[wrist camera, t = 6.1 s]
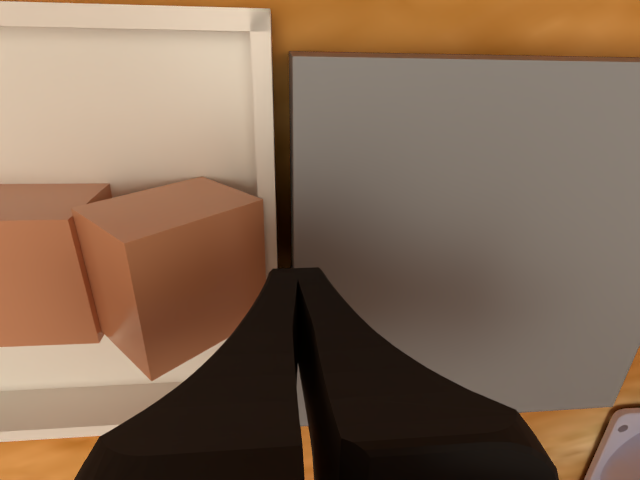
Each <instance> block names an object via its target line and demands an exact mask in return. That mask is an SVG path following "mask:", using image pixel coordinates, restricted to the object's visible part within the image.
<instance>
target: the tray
mask: <svg viewBox="0 0 640 480" xmlns="http://www.w3.org/2000/svg"><path fill="white" fill-rule="evenodd" d="M197 177H205V178H208V179H210V180H213V181H216V182H218V183H221V184H224V185H226V186H229V187H232V188H234V189H237V190H240V191H242V192H245V193H248V194H250V195H253V196H256V197H258V198H261V199H263V213H264V239H265V266H266V279H267V277H268V274H269V272H270V271H271V270H272V269H278V243H277V206H276V170H275V133H274V96H273V59H272V23H271V10H270V9H267V8H230V7H193V6H157V5H120V4H83V3H47V2H10V1H0V184H88V183H109V184H110V189H111V194H112V198H114V197H118V196H122V195H127V194H131V193H135V192H139V191H143V190H147V189H152V188H156V187H160V186H164V185H168V184H172V183H177V182H181V181H185V180H189V179H193V178H197ZM227 339H228V338H227ZM227 339H225V340H223V341H222V342H220V343H218V344H216V345H215V346H213V347H211V348H209V349H208V350H206V351H204V352H202V353H201V354H199V355H197V356H195V357H194V358H192V359H190V360H188V361H186V362H185V363H183V364H181V365H179V366H178V367H176V368H174V369H172V370H171V371H169V372H167V373H165V374H164V375H162V376H160V377H158V378H157V379H155V380H153V381H151V380H150V379H149V378H148V377H147V376H146V375H145V374H144V373H143V372H142V371H141V370H140V369H139V368H138V367H137V366H136V365H135V364H134V363H133V362H132V361H131V360H130V359H129V358H128V357H127V356H126V355H125V354H124V353H123V352H122V351H121V350H120V349H119V348H118V347H117V346H116V345H115V344H114V343H113V342H112V341H111V340H110V339H109V338H108V337H107V336H106V335H105V334H104V336H103V338H102V339H101V341H100V343H93V344H67V345H41V346H16V347H0V442H7V441H23V440H39V439H55V438H71V437H87V436H102V435H103V434H105V433H107V432H109V431H110V430H112V429H114V428H115V427H117V426H119V425H120V424H122V423H123V422H125V421H127V420H128V419H130V418H132V417H133V416H135V415H137V414H138V413H140V412H141V411H143V410H145V409H146V408H148V407H149V406H151V405H152V404H154V403H155V402H157V401H158V400H159V399H161V398H162V397H164V396H165V395H166V394H168V393H169V392H171V391H172V390H173V389H175V388H176V387H177V386H178V385H180V384H181V383H182V382H184V381H185V380H186V379H187V378H188V377H190V376H191V375H192V374H193V373H194V372H195V371H196V370H197V369H198V368H200V367H201V366H202V365H203V364H204V363H205V362H206V361H207V360H208V359H209V358H210V357H211V356H212V355H213V354H214V353H215V352H216V351H217V350H218V349H219V348H220V347H221V346H222V344H223V343H224V342H225V341H226V340H227Z"/></svg>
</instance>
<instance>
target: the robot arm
mask: <svg viewBox="0 0 640 480" xmlns="http://www.w3.org/2000/svg"><path fill="white" fill-rule="evenodd" d="M298 366H299V372H300V379H301V385H302V391H303V397H304V403H305V408H306V414H307V420H308V426H309V432H310V439H311V447H312V455H313V469H314V480H559V478H558V473H557V468H556V467H555V465H554V464H553V462H552V461H551V459H550V458H549V456H548V454H547V453H546V451H545V450H544V448H543V446H542V445H541V443H540V442H539V440H538V439H537V437H536V436H535V434H534V433H533V431H532V430H531V429H530V427H529V426H528V425H527V423H526V422H525V421H524V420H523V418H522V417H521V416H520V414H519V413H518V412H517V410H516V409H513V408H511V407H509V406H506V405H504V404H501V403H499V402H497V401H494V400H492V399H490V398H487V397H485V396H483V395H480V394H478V393H476V392H473V391H471V390H469V389H467V388H464V387H463V386H461V385H459V384H457V383H455V382H453V381H451V380H449V379H447V378H445V377H443V376H441V375H439V374H438V373H436V372H434V371H432V370H431V369H429V368H427V367H425V366H424V365H422V364H421V363H419V362H417V361H416V360H414V359H413V358H411V357H410V356H408V355H406V354H405V353H404V352H402V351H401V350H399V349H398V348H396V347H395V346H394V345H392V344H391V343H390V342H388V341H387V340H386V339H385V338H383V337H382V336H381V335H380V334H378V333H377V332H376V331H375V330H374V329H372V328H371V327H370V326H369V325H368V324H367V323H366V322H365V321H364V320H363V319H362V318H361V317H360V316H359V315H358V314H357V313H356V312H355V311H354V310H353V309H352V308H351V306H350V305H349V304H348V303H347V302H346V301H345V300H344V299H343V297H342V296H341V295H340V294H339V293H338V291H337V290H336V289H335V288H334V286H333V285H332V284H331V282H330V281H329V280H328V278H327V277H326V275H325V274H324V273H323V271H322V270H321V269H320V268H319V267H313V268H278V269H272V270H271V271H270V272H269V274H268V277H267V279H266V282H265V284H264V286H263V288H262V290H261V292H260V293H259V295H258V297H257V298H256V300H255V302H254V303H253V305H252V307H251V308H250V310H249V311H248V313H247V314H246V315H245V317H244V318H243V320H242V321H241V322H240V324H239V325H238V326H237V328H236V329H235V330H234V332H233V333H232V334H231V335H230V336H229V338H228V339H227V340H226V341H225V342H224V343H223V344H222V346H221V347H220V348H219V349H218V350H217V351H216V352H215V353H214V354H213V355H212V356H211V357H210V358H209V359H208V360H207V361H206V362H205V363H204V364H203V365H202V366H201V367H200V368H198V369H197V370H196V371H195V372H194V373H193V374H192V375H191V376H190V377H188V378H187V379H186V380H185V381H184V382H182V383H181V384H180V385H178V386H177V387H176V388H175V389H173V390H172V391H171V392H169V393H168V394H166V395H165V396H164V397H162V398H161V399H159V400H158V401H157V402H155V403H154V404H152V405H151V406H149V407H148V408H146V409H145V410H143V411H141V412H140V413H138V414H137V415H135V416H133V417H132V418H130V419H128V420H127V421H125V422H123V423H122V424H120V425H119V426H117V427H115V428H114V429H112V430H110V431H109V432H107V433H105V434H103V435H102V436H100V437H99V439H98V440H97V442H96V444H95V445H94V447H93V449H92V450H91V452H90V454H89V456H88V457H87V459H86V460H85V462H84V463H83V465H82V467H81V469H80V470H79V472H78V474H77V476H76V477H75V479H74V480H304V464H303V448H302V438H301V429H300V419H299V409H298V398H297V371H298ZM584 480H640V408H624V409H620V410H617V411H616V412H615V413H614V414H613V415H612V417H611V420H610V422H609V424H608V426H607V429H606V431H605V433H604V435H603V438H602V440H601V442H600V444H599V447H598V449H597V451H596V453H595V456H594V458H593V460H592V462H591V465H590V467H589V469H588V471H587V474H586V476H585V478H584Z"/></svg>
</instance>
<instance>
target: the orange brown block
mask: <svg viewBox="0 0 640 480" xmlns="http://www.w3.org/2000/svg"><path fill="white" fill-rule="evenodd" d="M71 211H72V215H73V219H74V223H75V227H76V231H77V235H78V239H79V243H80V247H81V251H82V255H83V259H84V263H85V267H86V271H87V275H88V279H89V283H90V287H91V291H92V295H93V299H94V303H95V307H96V311H97V315H98V319H99V323H100V327H101V331H102V332H103V333H104V334H105V335H106V336H107V337H108V338H109V339H110V340H111V341H112V342H113V343H114V344H115V345H116V346H117V347H118V348H119V349H120V350H121V351H122V352H123V353H124V354H125V355H126V356H127V357H128V358H129V359H130V360H131V361H132V362H133V363H134V364H135V365H136V366H137V367H138V368H139V369H140V370H141V371H142V372H143V373H144V374H145V375H146V376H147V377H148V378H149V379H150V380H151V381H153V380H155V379H157V378H158V377H160V376H162V375H164V374H165V373H167V372H169V371H171V370H172V369H174V368H176V367H178V366H179V365H181V364H183V363H185V362H186V361H188V360H190V359H192V358H194V357H195V356H197V355H199V354H201V353H202V352H204V351H206V350H208V349H209V348H211V347H213V346H215V345H216V344H218V343H220V342H222V341H223V340H225V339H227V338H229V336H230V335H231V334H232V333H233V332H234V330H235V329H236V328H237V326H238V325H239V324H240V322H241V321H242V320H243V318H244V317H245V315H246V314H247V313H248V311H249V310H250V308H251V307H252V305H253V303H254V302H255V300H256V298H257V297H258V295H259V293H260V292H261V290H262V288H263V286H264V284H265V282H266V266H265V239H264V213H263V199H261V198H258V197H256V196H253V195H250V194H248V193H245V192H242V191H240V190H237V189H234V188H232V187H229V186H226V185H224V184H221V183H218V182H216V181H213V180H210V179H208V178H205V177H197V178H193V179H189V180H185V181H181V182H177V183H172V184H168V185H164V186H160V187H156V188H152V189H147V190H143V191H139V192H135V193H131V194H127V195H122V196H118V197H114V198H110V199H106V200H102V201H97V202H93V203H89V204H85V205H81V206H77V207H72V208H71Z"/></svg>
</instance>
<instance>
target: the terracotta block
mask: <svg viewBox="0 0 640 480" xmlns="http://www.w3.org/2000/svg"><path fill="white" fill-rule="evenodd" d="M110 198H112V194H111V189H110V184H109V183H88V184H0V347H16V346H41V345H67V344H93V343H100V341H101V339H102V338H103V336H104V333H103V332H102V331H101V327H100V323H99V319H98V315H97V311H96V307H95V303H94V299H93V295H92V291H91V287H90V283H89V279H88V275H87V271H86V267H85V263H84V259H83V255H82V251H81V247H80V243H79V239H78V235H77V231H76V227H75V223H74V219H73V215H72V211H71V208H72V207H77V206H81V205H85V204H89V203H93V202H97V201H102V200H106V199H110Z"/></svg>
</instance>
